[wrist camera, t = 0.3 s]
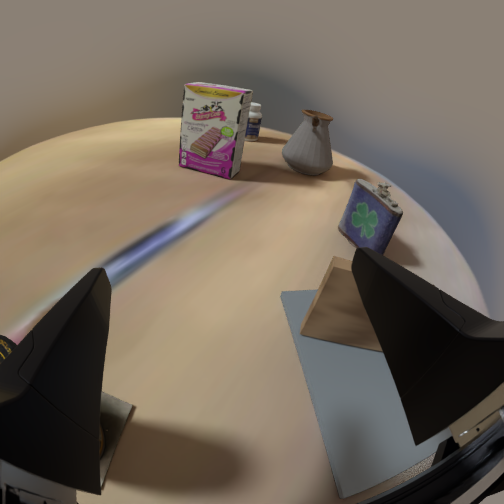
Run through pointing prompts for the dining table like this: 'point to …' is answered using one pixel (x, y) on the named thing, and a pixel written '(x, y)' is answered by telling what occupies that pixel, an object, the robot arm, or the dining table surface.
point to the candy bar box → (213, 128)
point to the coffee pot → (310, 145)
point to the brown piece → (339, 310)
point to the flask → (370, 216)
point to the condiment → (110, 416)
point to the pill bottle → (253, 122)
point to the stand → (355, 407)
